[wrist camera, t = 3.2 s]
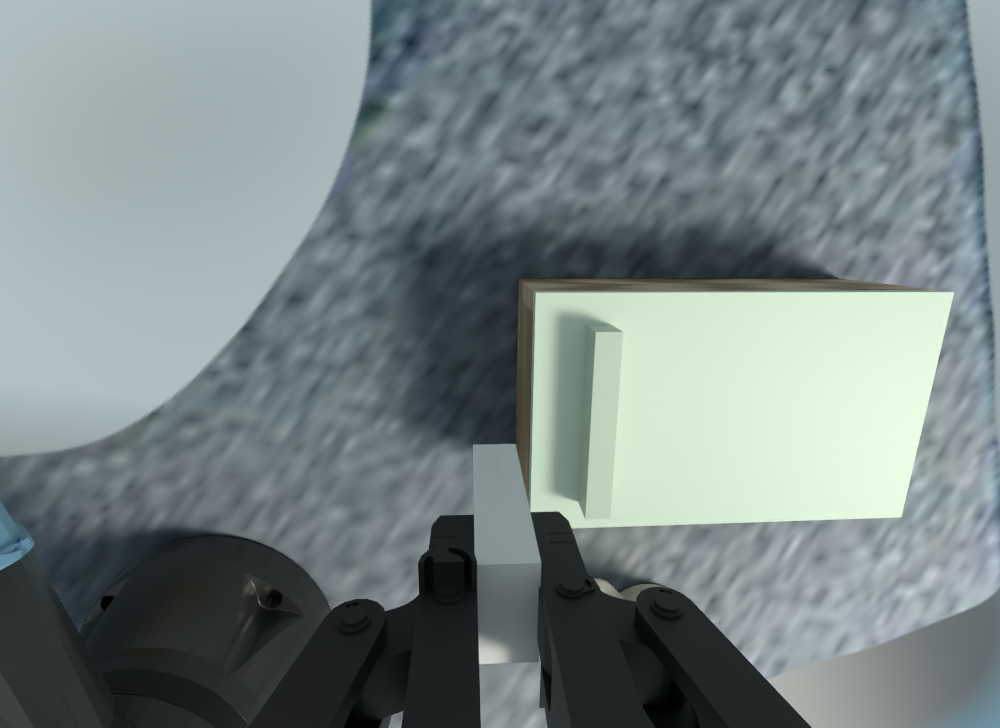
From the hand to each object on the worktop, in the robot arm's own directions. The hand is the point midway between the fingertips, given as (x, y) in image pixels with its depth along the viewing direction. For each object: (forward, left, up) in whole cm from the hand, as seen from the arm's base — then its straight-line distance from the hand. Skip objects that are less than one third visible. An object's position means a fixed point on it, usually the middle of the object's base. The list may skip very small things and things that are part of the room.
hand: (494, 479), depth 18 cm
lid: (+12, 0, -7) cm, 14 cm away
